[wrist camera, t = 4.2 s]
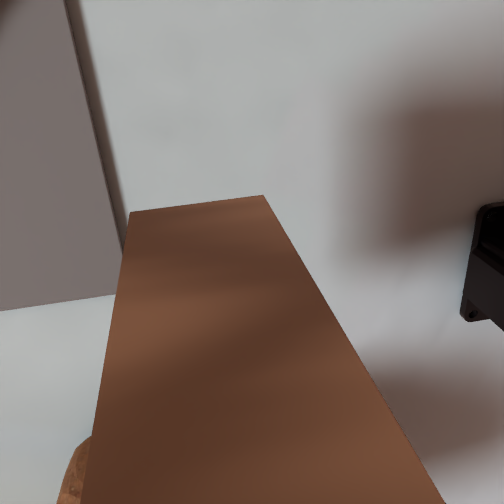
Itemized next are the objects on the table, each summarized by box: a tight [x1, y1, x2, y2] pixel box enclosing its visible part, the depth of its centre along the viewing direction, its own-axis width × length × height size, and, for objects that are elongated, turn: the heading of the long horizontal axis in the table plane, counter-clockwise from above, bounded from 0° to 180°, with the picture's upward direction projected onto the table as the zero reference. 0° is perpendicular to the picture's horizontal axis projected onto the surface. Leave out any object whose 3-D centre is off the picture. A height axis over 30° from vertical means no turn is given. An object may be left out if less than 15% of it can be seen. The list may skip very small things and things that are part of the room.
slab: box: [80, 195, 445, 504], centre depth 8 cm, size 3×8×9 cm, turn 4°
